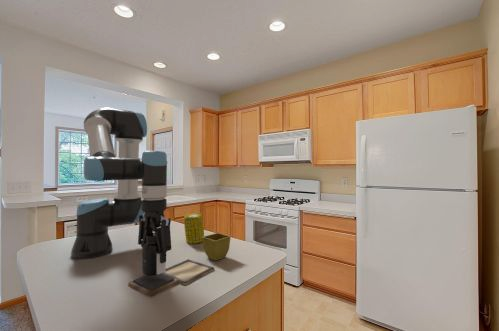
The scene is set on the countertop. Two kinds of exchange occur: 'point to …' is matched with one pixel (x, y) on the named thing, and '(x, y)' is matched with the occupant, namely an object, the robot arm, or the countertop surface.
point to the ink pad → (153, 281)
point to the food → (194, 228)
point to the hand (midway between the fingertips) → (153, 269)
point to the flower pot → (216, 245)
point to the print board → (188, 271)
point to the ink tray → (154, 292)
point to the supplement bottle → (149, 255)
